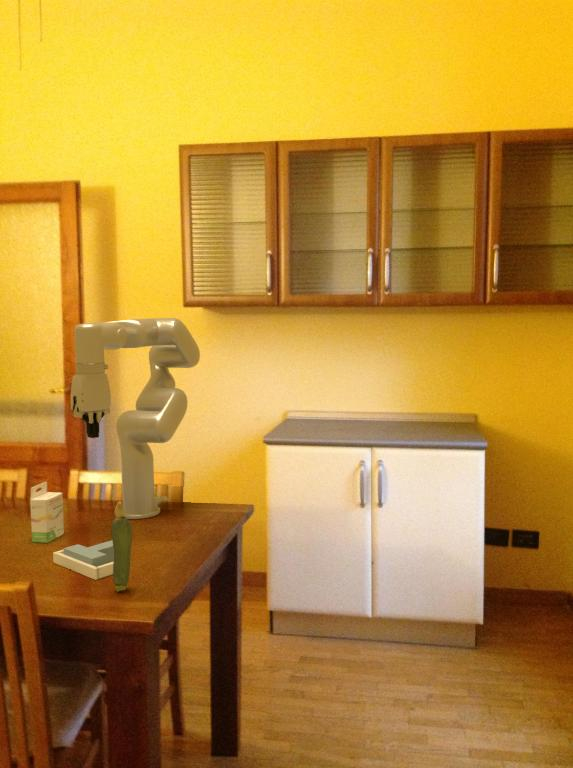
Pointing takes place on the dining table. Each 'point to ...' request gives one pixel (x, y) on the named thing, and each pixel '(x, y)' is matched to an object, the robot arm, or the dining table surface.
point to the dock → (82, 566)
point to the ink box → (46, 514)
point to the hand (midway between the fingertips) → (93, 437)
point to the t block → (92, 553)
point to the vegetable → (121, 548)
